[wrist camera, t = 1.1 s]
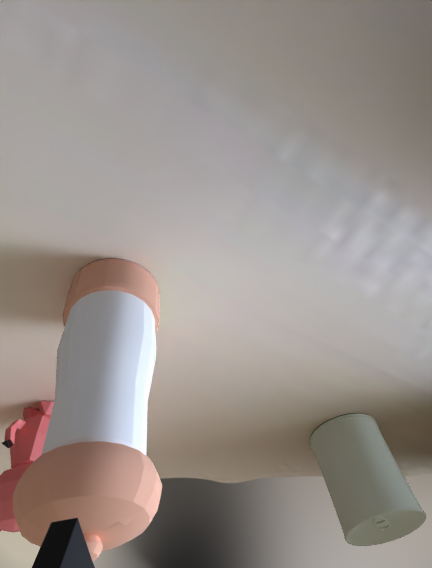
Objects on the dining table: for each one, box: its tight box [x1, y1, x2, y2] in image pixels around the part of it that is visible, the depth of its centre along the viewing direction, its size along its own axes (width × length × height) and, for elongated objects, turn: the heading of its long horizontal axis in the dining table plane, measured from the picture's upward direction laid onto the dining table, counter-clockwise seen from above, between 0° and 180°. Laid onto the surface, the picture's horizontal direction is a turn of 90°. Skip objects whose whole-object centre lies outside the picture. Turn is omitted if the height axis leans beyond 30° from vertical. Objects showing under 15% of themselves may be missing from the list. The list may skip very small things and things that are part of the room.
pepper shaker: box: [13, 259, 162, 561], centre depth 24 cm, size 7×7×19 cm
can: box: [310, 414, 426, 546], centre depth 46 cm, size 9×9×12 cm
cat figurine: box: [0, 401, 54, 532], centre depth 35 cm, size 7×7×12 cm
